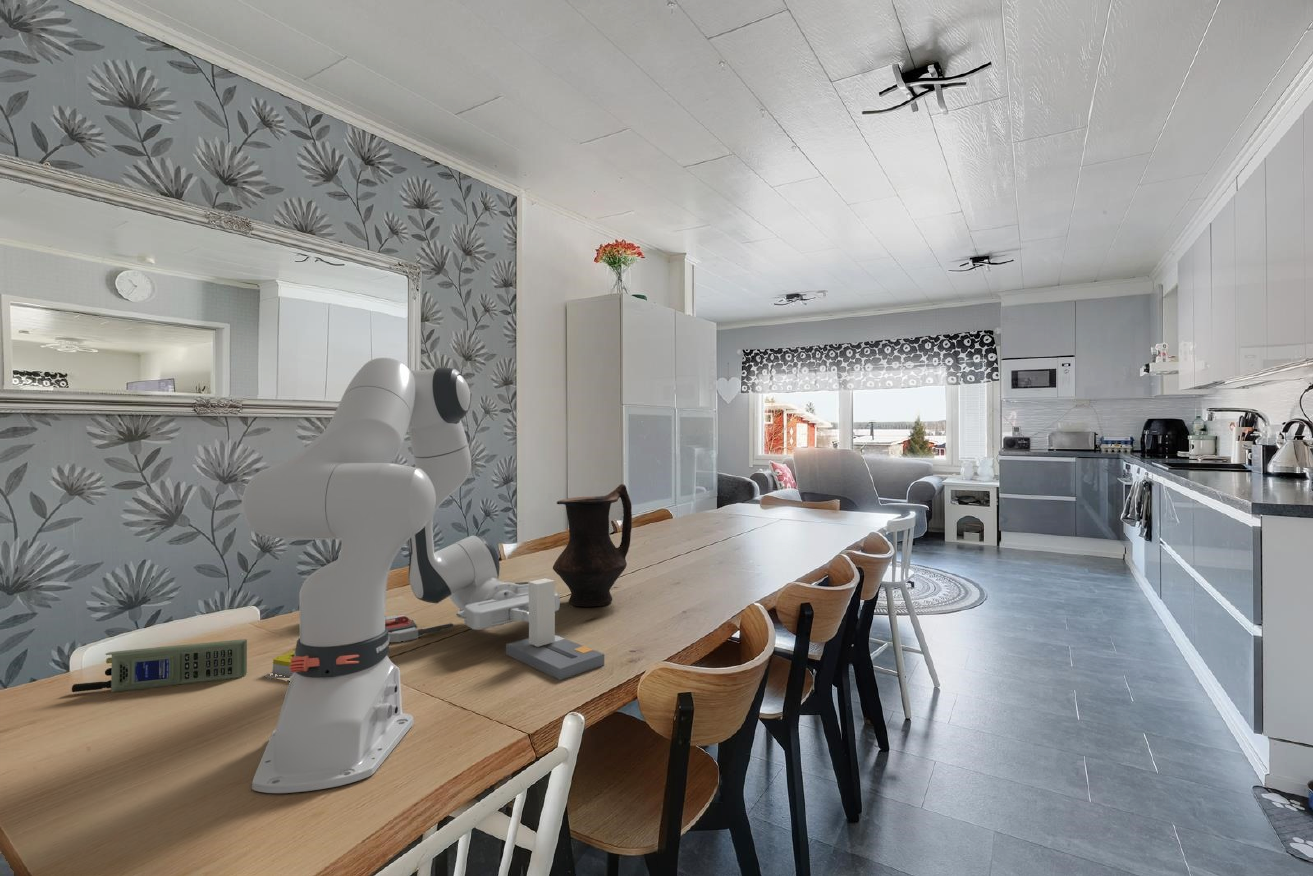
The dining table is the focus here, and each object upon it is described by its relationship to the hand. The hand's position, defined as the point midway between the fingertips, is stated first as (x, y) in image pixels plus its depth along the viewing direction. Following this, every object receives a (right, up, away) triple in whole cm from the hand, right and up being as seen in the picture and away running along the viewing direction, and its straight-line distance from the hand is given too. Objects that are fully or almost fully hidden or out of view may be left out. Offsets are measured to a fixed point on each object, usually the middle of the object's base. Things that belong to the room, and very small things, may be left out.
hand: (534, 616), depth 121 cm
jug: (+8, -7, +35) cm, 37 cm away
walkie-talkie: (-31, -8, +10) cm, 33 cm away
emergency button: (-39, -8, -6) cm, 41 cm away
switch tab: (+2, -5, -2) cm, 5 cm away
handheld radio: (-62, -8, -15) cm, 64 cm away
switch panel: (+5, -7, -4) cm, 9 cm away
